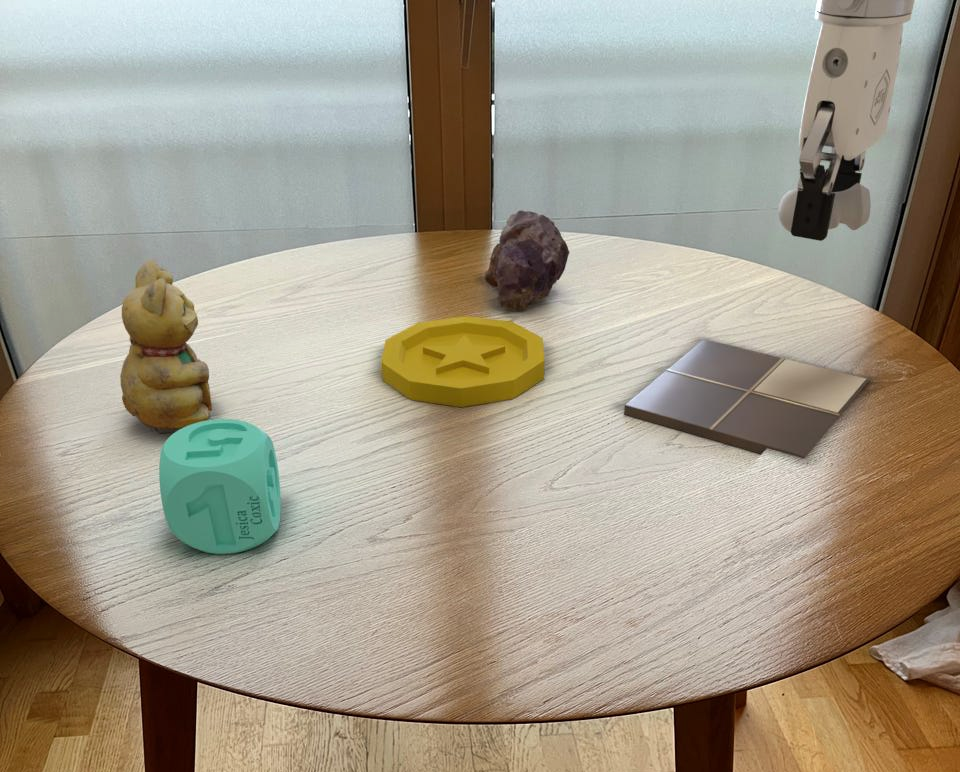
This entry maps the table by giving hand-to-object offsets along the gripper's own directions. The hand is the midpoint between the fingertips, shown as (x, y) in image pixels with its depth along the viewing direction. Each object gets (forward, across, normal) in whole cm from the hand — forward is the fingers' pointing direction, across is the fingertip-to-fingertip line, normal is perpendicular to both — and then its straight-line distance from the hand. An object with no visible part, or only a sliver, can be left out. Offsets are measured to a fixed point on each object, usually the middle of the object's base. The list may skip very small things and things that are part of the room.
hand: (822, 224), depth 92 cm
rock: (+15, +3, +35) cm, 38 cm away
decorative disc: (+15, -16, +30) cm, 37 cm away
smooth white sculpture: (+1, 0, 0) cm, 1 cm away
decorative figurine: (+15, -42, +46) cm, 64 cm away
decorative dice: (+15, -52, +28) cm, 61 cm away
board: (+15, -7, +2) cm, 17 cm away
